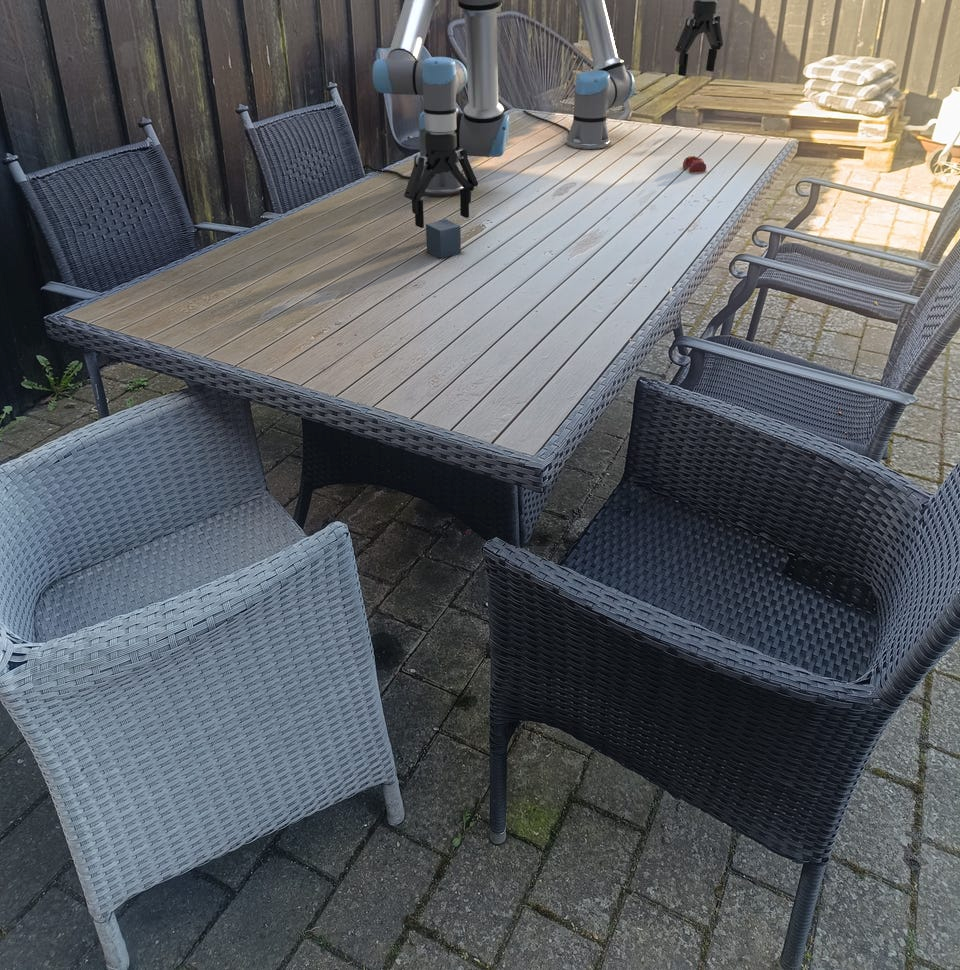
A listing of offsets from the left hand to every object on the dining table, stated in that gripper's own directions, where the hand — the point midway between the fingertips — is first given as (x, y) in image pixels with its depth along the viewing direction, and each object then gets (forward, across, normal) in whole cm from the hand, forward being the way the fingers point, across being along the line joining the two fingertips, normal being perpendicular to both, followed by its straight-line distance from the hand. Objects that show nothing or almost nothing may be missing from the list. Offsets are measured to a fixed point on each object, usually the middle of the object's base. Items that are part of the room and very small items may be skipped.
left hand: (442, 221), depth 210 cm
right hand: (-19, -124, -31) cm, 129 cm away
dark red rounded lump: (+7, -109, -14) cm, 110 cm away
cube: (+8, 0, 0) cm, 8 cm away
